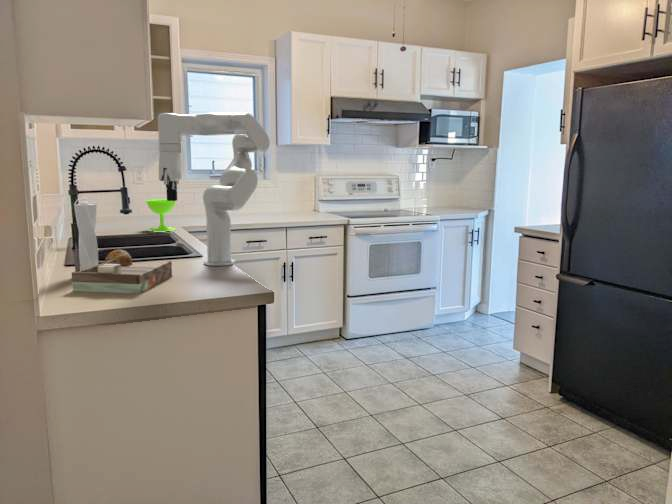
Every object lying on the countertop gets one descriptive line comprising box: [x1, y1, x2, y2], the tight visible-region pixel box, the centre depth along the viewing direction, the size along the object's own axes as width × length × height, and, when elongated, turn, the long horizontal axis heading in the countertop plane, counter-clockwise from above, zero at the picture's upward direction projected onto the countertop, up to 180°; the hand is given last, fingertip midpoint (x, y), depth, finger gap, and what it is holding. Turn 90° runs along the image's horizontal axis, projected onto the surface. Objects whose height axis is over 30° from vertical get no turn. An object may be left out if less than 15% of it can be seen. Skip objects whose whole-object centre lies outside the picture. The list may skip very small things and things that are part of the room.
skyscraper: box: [73, 196, 99, 272], centre depth 191 cm, size 8×8×28 cm
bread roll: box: [104, 249, 133, 267], centre depth 211 cm, size 10×10×8 cm
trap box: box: [71, 259, 173, 294], centre depth 180 cm, size 26×22×6 cm
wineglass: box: [146, 198, 176, 231], centre depth 312 cm, size 16×16×18 cm
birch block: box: [98, 264, 121, 274], centre depth 170 cm, size 5×5×5 cm
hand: (172, 200), depth 192 cm, fingers closed
